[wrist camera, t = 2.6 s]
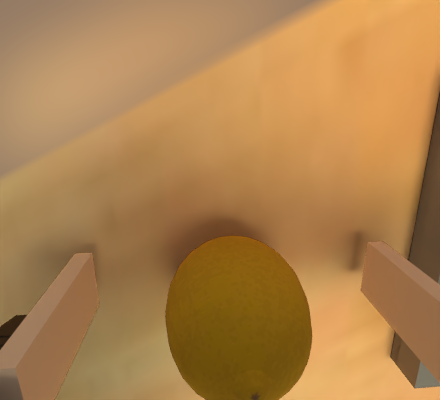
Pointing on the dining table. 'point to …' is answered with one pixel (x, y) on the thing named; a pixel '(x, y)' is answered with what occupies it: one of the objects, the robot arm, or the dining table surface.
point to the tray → (424, 255)
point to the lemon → (238, 321)
